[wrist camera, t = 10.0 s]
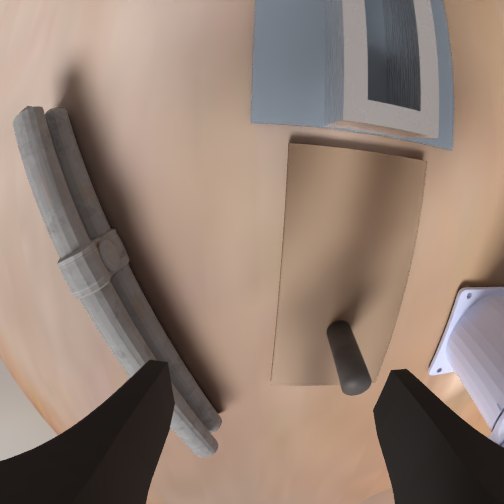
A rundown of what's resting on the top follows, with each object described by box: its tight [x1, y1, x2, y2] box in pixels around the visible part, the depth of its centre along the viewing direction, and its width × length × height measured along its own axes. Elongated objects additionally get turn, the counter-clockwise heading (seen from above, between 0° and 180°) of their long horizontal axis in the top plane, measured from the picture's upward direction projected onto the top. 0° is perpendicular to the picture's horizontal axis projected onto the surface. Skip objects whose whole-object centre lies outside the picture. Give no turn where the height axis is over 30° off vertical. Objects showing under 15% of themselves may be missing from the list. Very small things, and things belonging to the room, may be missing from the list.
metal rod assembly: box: [13, 106, 222, 457], centre depth 16 cm, size 26×3×5 cm, turn 20°
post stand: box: [271, 143, 427, 395], centre depth 15 cm, size 8×16×6 cm, turn 178°
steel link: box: [324, 0, 439, 138], centre depth 10 cm, size 4×12×4 cm, turn 178°
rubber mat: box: [251, 0, 454, 150], centre depth 12 cm, size 12×12×1 cm
